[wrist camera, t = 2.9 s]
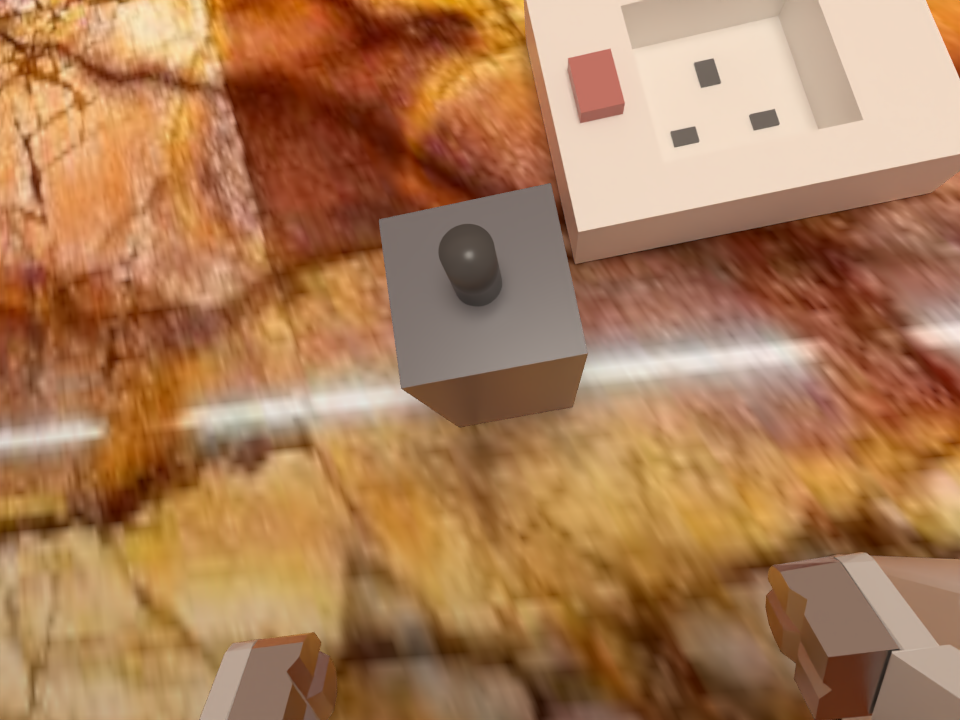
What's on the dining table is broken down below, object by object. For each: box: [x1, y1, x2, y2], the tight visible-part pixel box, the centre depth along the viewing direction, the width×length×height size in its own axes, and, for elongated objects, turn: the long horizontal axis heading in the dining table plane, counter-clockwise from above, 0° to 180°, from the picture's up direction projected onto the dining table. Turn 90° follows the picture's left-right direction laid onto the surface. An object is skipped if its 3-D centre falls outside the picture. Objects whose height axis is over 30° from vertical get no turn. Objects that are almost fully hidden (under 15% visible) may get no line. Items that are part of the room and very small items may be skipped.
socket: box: [524, 0, 960, 264], centre depth 22 cm, size 14×11×4 cm
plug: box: [379, 183, 588, 427], centre depth 17 cm, size 4×4×11 cm
